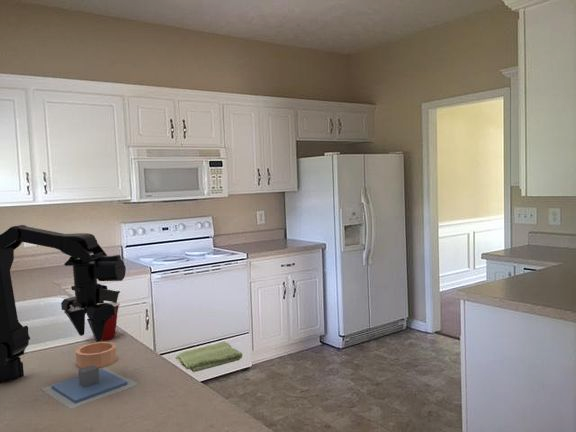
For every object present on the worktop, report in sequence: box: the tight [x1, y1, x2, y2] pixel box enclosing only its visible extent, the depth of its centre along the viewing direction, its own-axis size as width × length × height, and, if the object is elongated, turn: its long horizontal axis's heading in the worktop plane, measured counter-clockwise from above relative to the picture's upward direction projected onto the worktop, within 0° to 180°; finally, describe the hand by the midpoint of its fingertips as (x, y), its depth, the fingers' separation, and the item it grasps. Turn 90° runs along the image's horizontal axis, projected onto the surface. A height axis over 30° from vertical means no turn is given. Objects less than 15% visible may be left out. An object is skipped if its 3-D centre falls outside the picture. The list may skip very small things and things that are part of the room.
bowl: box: [75, 341, 118, 369], centre depth 152 cm, size 11×11×5 cm
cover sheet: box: [50, 365, 128, 403], centre depth 134 cm, size 14×14×5 cm
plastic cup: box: [97, 301, 121, 341], centre depth 177 cm, size 11×11×12 cm
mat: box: [40, 367, 139, 410], centre depth 134 cm, size 18×18×1 cm
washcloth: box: [175, 341, 243, 373], centre depth 153 cm, size 13×18×3 cm
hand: (90, 338), depth 138 cm, fingers open, 9 cm apart
